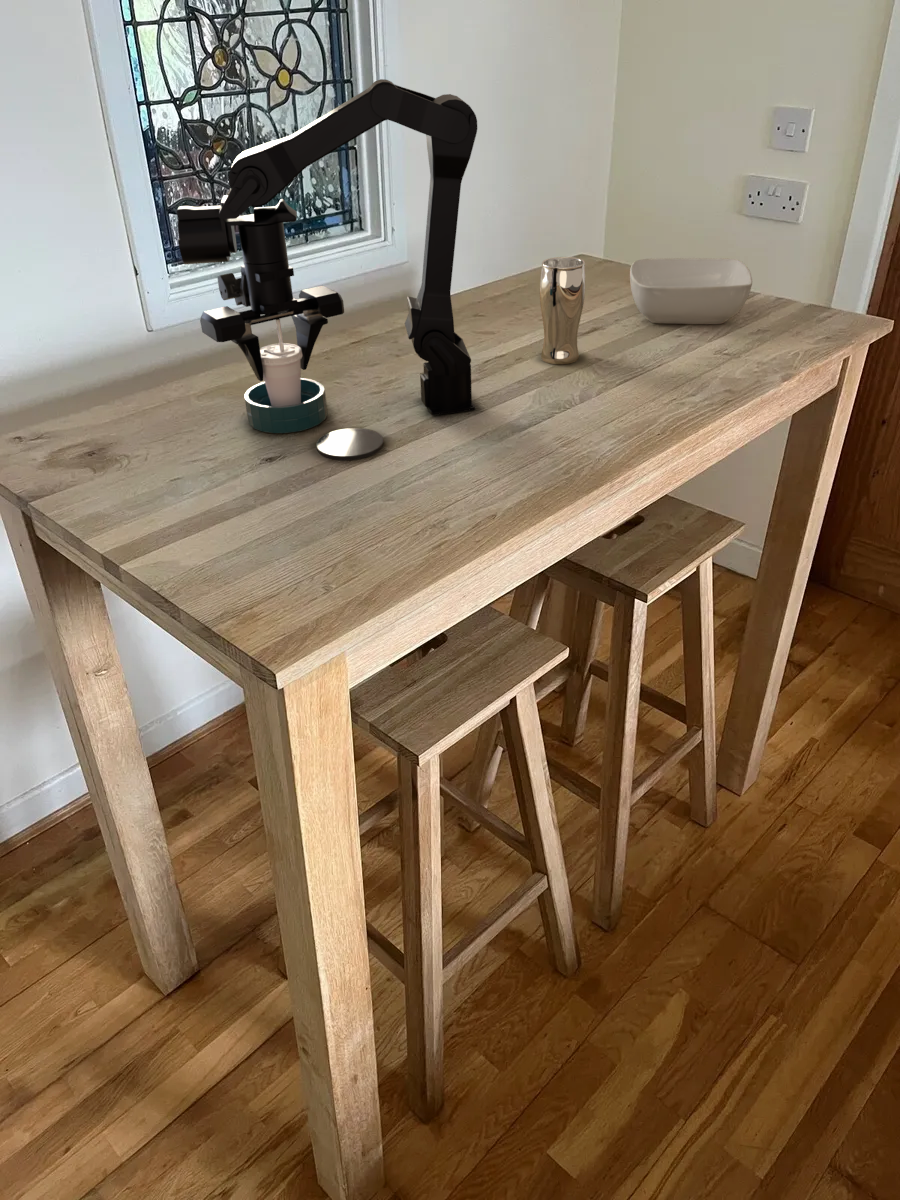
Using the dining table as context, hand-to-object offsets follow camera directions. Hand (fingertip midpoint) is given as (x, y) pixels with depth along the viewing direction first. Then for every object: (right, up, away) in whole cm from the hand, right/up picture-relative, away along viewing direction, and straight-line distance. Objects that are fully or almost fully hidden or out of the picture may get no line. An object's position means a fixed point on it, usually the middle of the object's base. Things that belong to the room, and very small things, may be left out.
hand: (282, 374), depth 127 cm
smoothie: (0, -5, +4) cm, 7 cm away
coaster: (+10, -11, -5) cm, 15 cm away
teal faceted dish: (0, -5, +4) cm, 7 cm away
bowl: (+66, +20, +37) cm, 78 cm away
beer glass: (+41, +8, +20) cm, 46 cm away
